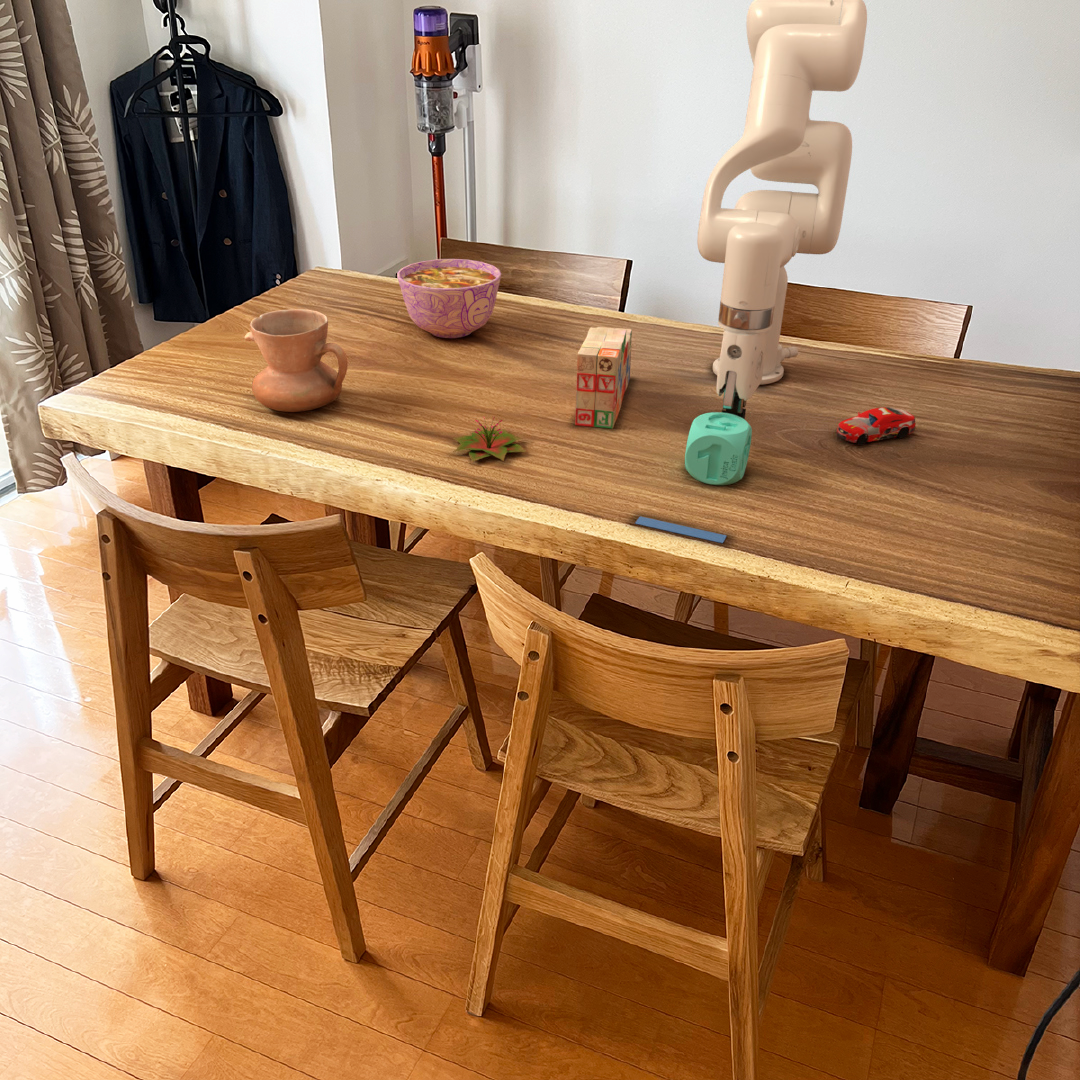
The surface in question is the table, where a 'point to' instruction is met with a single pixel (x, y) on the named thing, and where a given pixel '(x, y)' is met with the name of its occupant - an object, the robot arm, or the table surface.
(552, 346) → the table surface
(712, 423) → the decorative dice
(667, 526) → the tape line
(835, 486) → the table surface
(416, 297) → the bowl of food
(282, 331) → the ceramic jug
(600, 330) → the stack of blocks
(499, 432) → the lily flower
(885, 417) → the race car
